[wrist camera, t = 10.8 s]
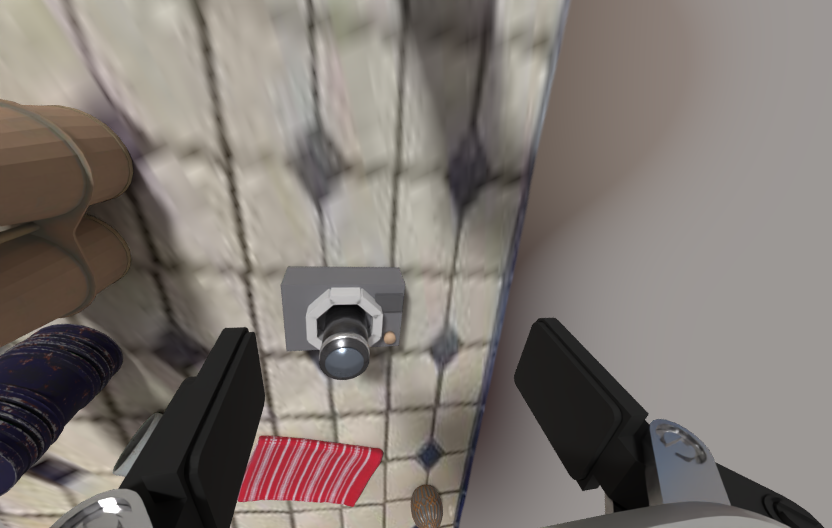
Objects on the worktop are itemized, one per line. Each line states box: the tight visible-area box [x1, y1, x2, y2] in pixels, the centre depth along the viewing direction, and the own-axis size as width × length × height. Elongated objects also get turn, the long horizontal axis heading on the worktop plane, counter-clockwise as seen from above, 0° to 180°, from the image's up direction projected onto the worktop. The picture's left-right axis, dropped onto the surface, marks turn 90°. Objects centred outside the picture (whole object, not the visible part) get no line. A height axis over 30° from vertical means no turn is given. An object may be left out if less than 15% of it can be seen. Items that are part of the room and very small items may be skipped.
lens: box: [319, 304, 370, 380], centre depth 36 cm, size 5×5×8 cm
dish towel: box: [237, 436, 383, 507], centre depth 58 cm, size 17×24×3 cm
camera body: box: [281, 267, 405, 351], centre depth 41 cm, size 10×15×7 cm, turn 84°
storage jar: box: [0, 324, 123, 496], centre depth 33 cm, size 10×10×15 cm
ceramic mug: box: [113, 413, 163, 477], centre depth 44 cm, size 11×8×8 cm
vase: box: [411, 485, 443, 528], centre depth 66 cm, size 7×7×9 cm
